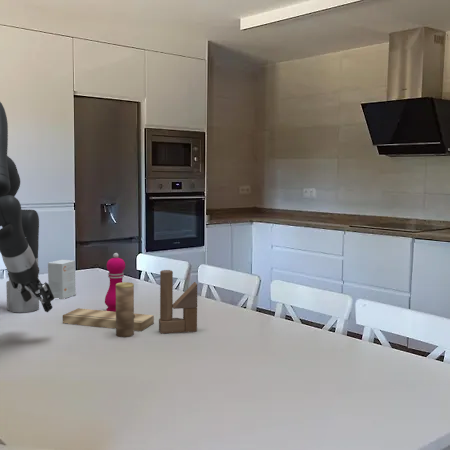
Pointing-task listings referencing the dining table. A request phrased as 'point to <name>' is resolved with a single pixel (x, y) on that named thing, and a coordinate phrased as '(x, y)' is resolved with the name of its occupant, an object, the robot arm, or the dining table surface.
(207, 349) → the dining table surface
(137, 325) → the board
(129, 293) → the wooden cylinder yellow top
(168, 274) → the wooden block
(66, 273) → the small box
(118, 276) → the pepper mill
